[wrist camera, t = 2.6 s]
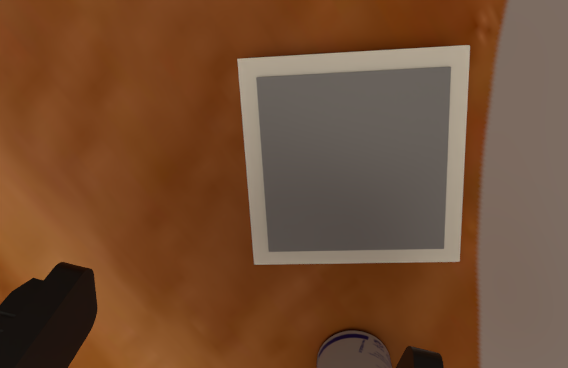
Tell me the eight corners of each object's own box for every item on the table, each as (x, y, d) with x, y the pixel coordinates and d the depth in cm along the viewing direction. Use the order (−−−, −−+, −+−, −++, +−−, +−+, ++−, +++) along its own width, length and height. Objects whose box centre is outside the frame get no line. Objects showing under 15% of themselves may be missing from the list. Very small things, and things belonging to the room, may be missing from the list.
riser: (263, 235, 32) (253, 267, 28) (250, 57, 29) (235, 58, 24) (440, 232, 31) (461, 264, 26) (447, 46, 28) (472, 45, 23)
